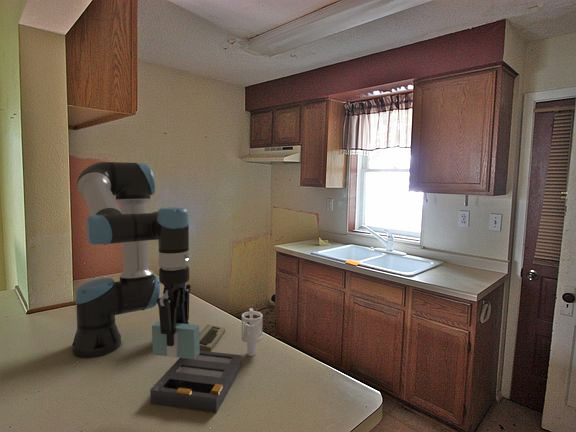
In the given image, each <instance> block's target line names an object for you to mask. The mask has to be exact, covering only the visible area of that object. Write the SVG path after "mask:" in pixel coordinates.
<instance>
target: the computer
mask: <svg viewBox="0 0 576 432" xmlns="http://www.w3.org/2000/svg"><path fill="white" fill-rule="evenodd" d="M203 327H204V328H202V330H201V331H199V348H200V351H209V352H212V350H213V349H214V348H215V346H216V345H217V344H218V342H219V341H220V339H221V338H222V336H224V334H225V333H226V328H225V327H223V326H217V325H214V324H206V325H205V326H203Z"/></svg>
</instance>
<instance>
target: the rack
mask: <svg viewBox="0 0 576 432" xmlns="http://www.w3.org/2000/svg"><path fill="white" fill-rule="evenodd" d="M242 367H243V355H241V354H235V353H226V352H225V353H224V352H217V351H211V352H209V351H200V354H199V355H198V356H197V357H196V358H195V359H187V358H178V359H177V360H176V361H175V363H173V364H172V365H171V366H170V367H169V369H168V370H167V371H166V372H164V374H163V375H162V376H161V377H160V378H159V380H158V381H157V382H156V383H155V384H154V385H153V386H152V387H151V388H150V391H149V394H150V395H149V397H150V405H151V404H152V405H159V406H164V407H165V406H166V407H170V408H180V409H187V410H192V411H201V412H208V413H213V414H217V413H218V411H219V409H220V407H221V406H222V404H223V402H224V401H225V399H226V398H227V397H226V396H227V395H228V393H229V391H230V389H231V388H232V385H233V384H234V383H235V380H236V379H237V377H238V375H239V373H240V371H242Z"/></svg>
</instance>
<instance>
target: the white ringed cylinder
mask: <svg viewBox="0 0 576 432" xmlns="http://www.w3.org/2000/svg"><path fill="white" fill-rule="evenodd" d="M248 310H249V311H246V312H243V313H242V314H241V341H242V342H244V343H246V344H247V349H246V352H247V353H246V354H247V356H249V357H253V356H256V355H257V343H259V342H261V341H263V340H262V339H263V318H264V317H263V316H264V315H263V313H262V312H260V311H255V310H254V308H253V307H251V308H249V309H248ZM246 316H249V318H248V317H246ZM254 316H258V317H257V318H256V317H255V318H254ZM247 323H248V324H247Z"/></svg>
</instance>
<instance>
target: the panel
mask: <svg viewBox="0 0 576 432" xmlns="http://www.w3.org/2000/svg"><path fill="white" fill-rule="evenodd" d="M175 332H177V336H178V356H177V357H176V358H178V359H179V358H187V359H195V358H196V357H197V356H198V355H199V354H200V348H199V333H200V325H199V324H192V323H191V324H190V323H189V324H182V323H176V331H175ZM151 338H152V339H151V341H152V355H154V356H163V357H168V356H167V336H166V334H161V330H160V320H158V321H157V322H155V323H153V324H152V325H151Z"/></svg>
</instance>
